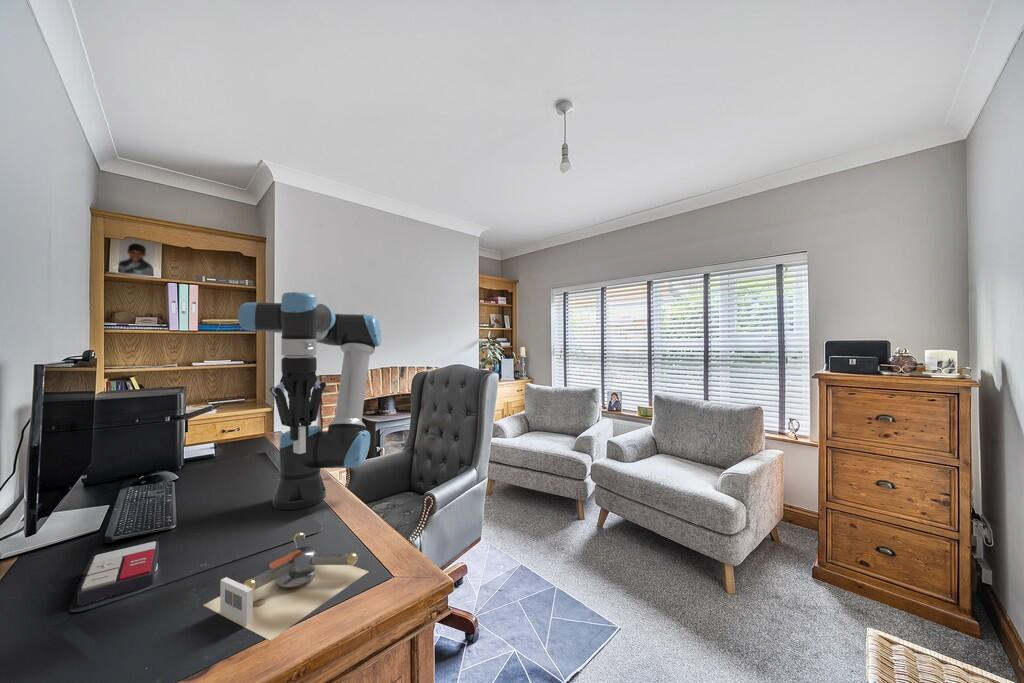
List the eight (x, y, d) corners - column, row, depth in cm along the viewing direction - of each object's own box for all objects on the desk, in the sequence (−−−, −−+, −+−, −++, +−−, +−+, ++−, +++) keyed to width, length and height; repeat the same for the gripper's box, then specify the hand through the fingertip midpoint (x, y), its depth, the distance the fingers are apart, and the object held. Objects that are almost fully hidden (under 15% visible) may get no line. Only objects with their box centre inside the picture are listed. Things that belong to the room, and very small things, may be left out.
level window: (226, 608, 73) (226, 576, 73) (253, 622, 70) (253, 588, 70) (219, 612, 72) (219, 580, 72) (246, 626, 69) (246, 592, 69)
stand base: (306, 555, 94) (306, 548, 94) (368, 578, 86) (368, 569, 86) (202, 613, 74) (203, 603, 74) (270, 649, 66) (270, 638, 66)
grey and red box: (76, 590, 75) (92, 552, 87) (76, 611, 76) (92, 571, 87) (153, 569, 82) (158, 537, 94) (153, 589, 83) (158, 555, 94)
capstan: (246, 562, 88) (247, 537, 88) (345, 539, 99) (345, 516, 99) (241, 610, 72) (241, 580, 72) (358, 577, 83) (358, 550, 83)
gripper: (280, 358, 87) (281, 462, 88) (333, 355, 99) (333, 448, 99) (262, 357, 91) (263, 456, 92) (315, 354, 102) (315, 443, 103)
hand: (299, 452), depth 96 cm, fingers closed
